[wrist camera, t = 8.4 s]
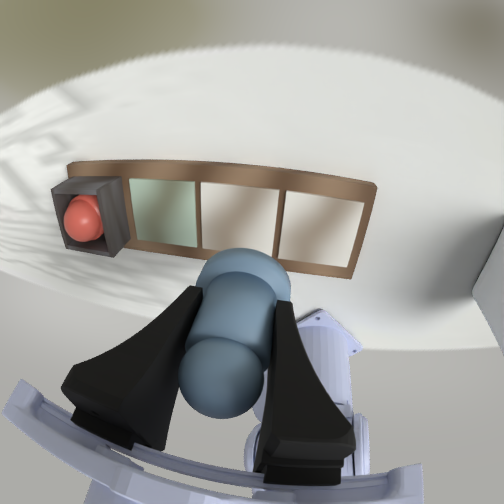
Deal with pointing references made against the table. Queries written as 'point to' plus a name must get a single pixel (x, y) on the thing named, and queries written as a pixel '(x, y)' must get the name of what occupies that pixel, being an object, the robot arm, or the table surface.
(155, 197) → the game board
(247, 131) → the table surface
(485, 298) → the photo printer
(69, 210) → the dome
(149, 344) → the robot arm
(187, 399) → the pawn
